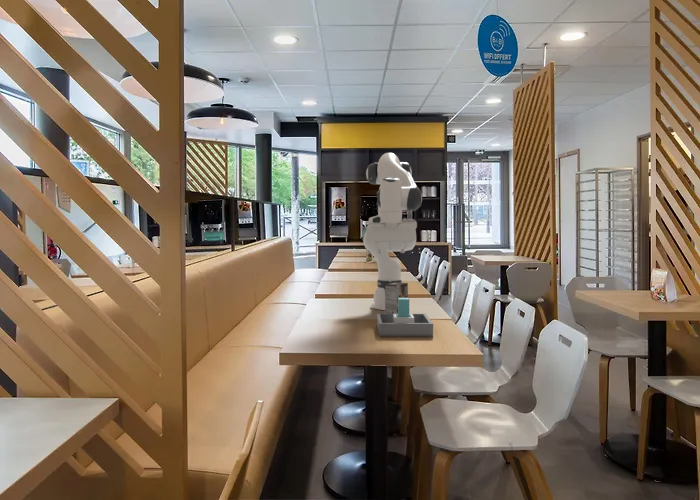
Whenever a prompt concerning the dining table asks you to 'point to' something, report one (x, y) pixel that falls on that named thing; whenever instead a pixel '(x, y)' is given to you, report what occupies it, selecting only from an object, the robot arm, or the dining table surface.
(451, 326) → the dining table surface
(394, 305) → the coffee box
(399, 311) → the connector peg
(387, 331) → the inlet box
